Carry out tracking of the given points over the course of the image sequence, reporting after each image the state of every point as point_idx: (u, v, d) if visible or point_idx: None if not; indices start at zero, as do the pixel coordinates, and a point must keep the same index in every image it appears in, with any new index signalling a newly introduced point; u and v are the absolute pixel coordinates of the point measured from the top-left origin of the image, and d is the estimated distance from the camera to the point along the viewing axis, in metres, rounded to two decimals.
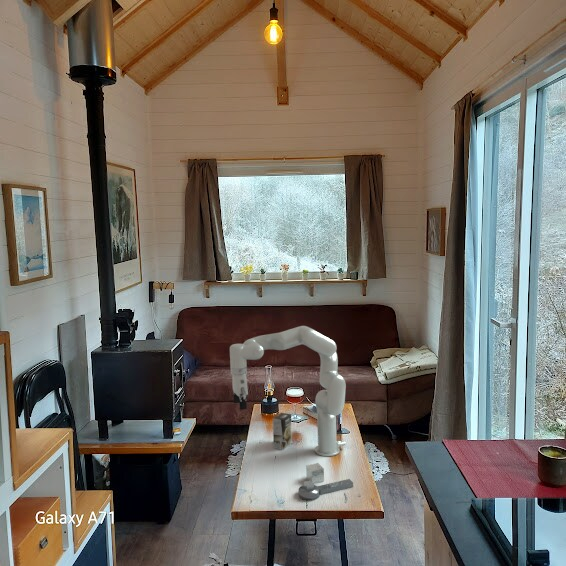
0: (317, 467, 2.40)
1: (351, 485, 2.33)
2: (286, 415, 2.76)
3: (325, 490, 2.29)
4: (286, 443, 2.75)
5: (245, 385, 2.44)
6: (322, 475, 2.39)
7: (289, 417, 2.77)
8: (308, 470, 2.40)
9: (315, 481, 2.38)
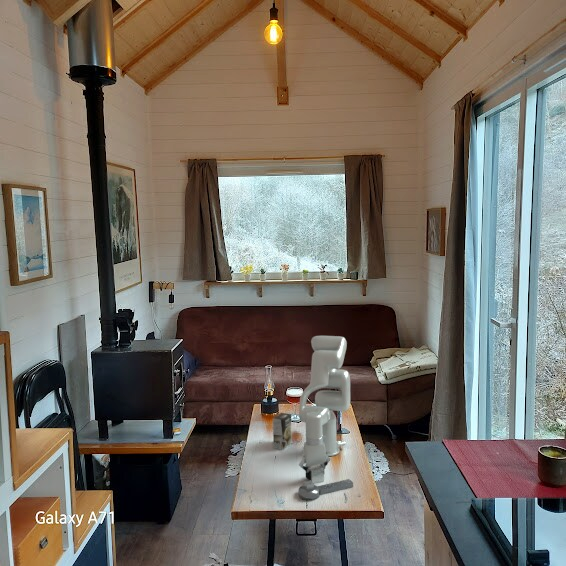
0: (317, 467, 2.40)
1: (351, 485, 2.33)
2: (286, 415, 2.76)
3: (325, 490, 2.29)
4: (286, 443, 2.75)
5: None
6: (322, 475, 2.39)
7: (289, 417, 2.77)
8: None
9: (315, 481, 2.38)
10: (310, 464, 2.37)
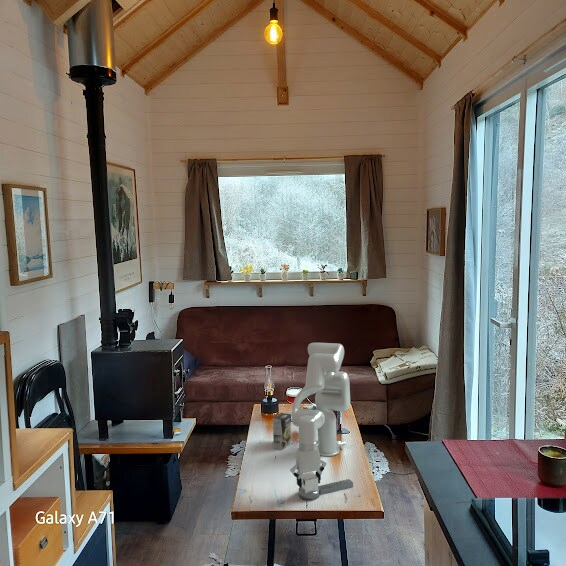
0: (311, 476, 2.26)
1: (351, 485, 2.33)
2: (286, 415, 2.76)
3: (325, 490, 2.29)
4: (286, 443, 2.75)
5: None
6: (316, 485, 2.25)
7: (289, 417, 2.77)
8: None
9: (308, 491, 2.24)
10: (303, 471, 2.23)
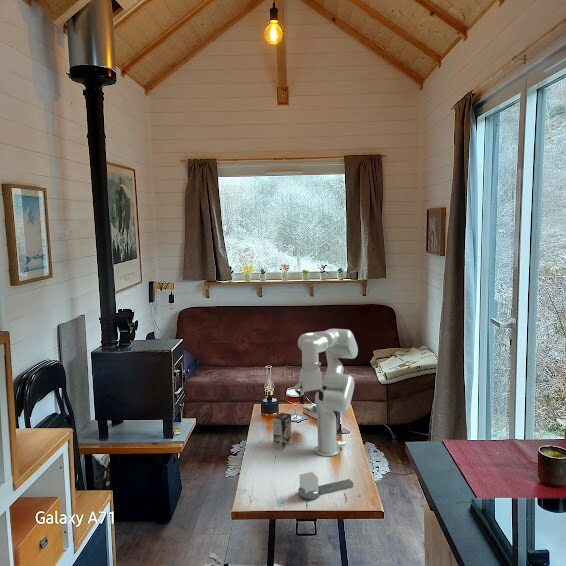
0: (311, 476, 2.26)
1: (351, 485, 2.33)
2: (286, 415, 2.76)
3: (325, 490, 2.29)
4: (286, 443, 2.75)
5: None
6: (316, 485, 2.25)
7: (289, 417, 2.77)
8: (301, 479, 2.26)
9: (308, 491, 2.24)
10: (306, 389, 2.42)
